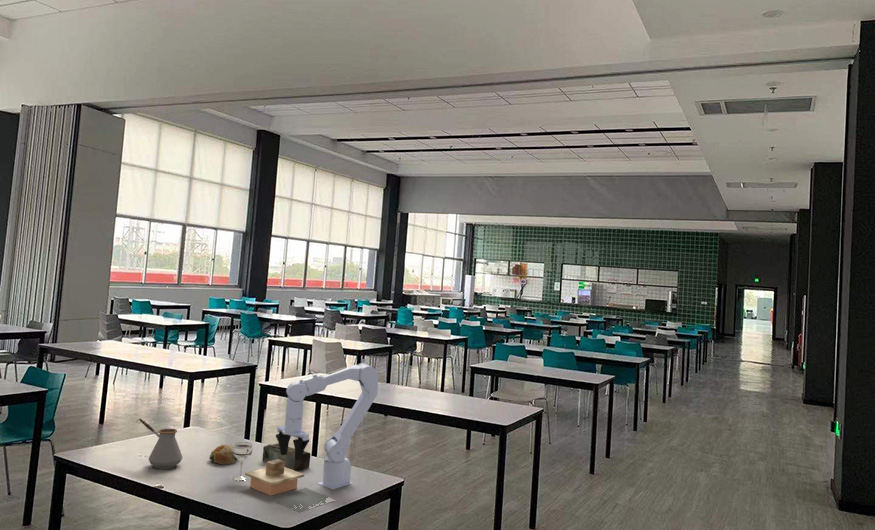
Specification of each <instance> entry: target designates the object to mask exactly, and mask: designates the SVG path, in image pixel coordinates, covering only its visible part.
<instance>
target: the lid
mask: <svg viewBox="0 0 875 530" xmlns="http://www.w3.org/2000/svg"><path fill="white" fill-rule="evenodd" d="M265 463H266V465H265V467H263V468H259V469H254V470H250V471H246V472H244V475H245V477H249V478H250V479H251V478H254V479H256V480H259V481H261V482H264V483H266V484H269V485H274V484H278V483H282V482H286V481H289V480H293V479H297V478H298V479H300V478H304V477H305V474H304V473H303V472H302V473H301V472H299V471H294V470H291V469H289V468H286V467H285V461H282V460H279V459H277V460H272V461H268V462H265Z"/></svg>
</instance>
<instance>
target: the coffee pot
mask: <svg viewBox="0 0 875 530" xmlns="http://www.w3.org/2000/svg"><path fill="white" fill-rule="evenodd" d="M138 421H139V424H142V425H144V427H145V428H147V429H148V430H149V431H151V432H152V433H153V434H155V436H157V437H158V438H157V439H158V440H157V441H156V443H155V445H154V447H153V448H152V449H153V450H152V451H151V453H150V455H149V457H148V462H149V464H150V465H152V466H153V468H155V469H161V470H163V469H164V470H165V469H172V468H175V467H176V466H177V465H178V464H180V463H181V462H182V460H183V455H182V451H181V449H180V446H179V444H178V441H177V438H176V433H177V432H178V430H177V429H176V428H163V429H159V430H158V432H157V431H156V430H155V429H154V428H153V426H152V425H150V424H149V423H147V422H146V421H145V420H143V419H142V418H139V419H138V420H137V421H136V422H138Z"/></svg>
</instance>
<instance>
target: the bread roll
mask: <svg viewBox="0 0 875 530" xmlns="http://www.w3.org/2000/svg"><path fill="white" fill-rule="evenodd" d="M233 448H234V445H233V444H232V445H231V444H222V445H219V446H217V447H216V448H214V450H212V451H211V453H210V455H209V460H210V461H211V463H213V462H214V463H213V464H216V463H218V464H217V465H230V464H231V463H232V464H236V463H237V461H239V459H237V458H236V457H235V456H234V455H233Z"/></svg>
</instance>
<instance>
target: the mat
mask: <svg viewBox="0 0 875 530" xmlns="http://www.w3.org/2000/svg"><path fill="white" fill-rule="evenodd" d="M328 497H329V496H328V495H326V494H322V493H320V492H319V491H318V492H317V491H314V490H312V489H310V488H307V487H304V488H299V489H296V490H291V491H289V492H288V491H287V492H284V493H280V494H277V495H275V496H274V495H273V496H271V497H268V498H267V500H270V501H271V502H274V503H276V504H279V505H282V506H283V507H285V508H287V509H288V508H289V509H291V510H293V511H296V512H298V513H302V512H304V511H309V510H310V509H309V508H310V507H309V506H311V507H313V506H315V505H316V504H319V503H320V502H321V501H322V502H321V503H324V504H325V503H326V502H325V500H326V498H328ZM321 503H320V504H321ZM300 504H301V505H302V506H303V507H302V506H301V505H300ZM313 504H314V505H313ZM320 504H319V505H320ZM294 505H295V506H296V507H297V508H296V507H295V506H294ZM325 505H326V504H325ZM299 506H300V507H299ZM294 507H295V508H296V509H295V508H294ZM301 507H302V508H301ZM308 507H309V508H308ZM292 508H293V509H292ZM300 508H301V509H300ZM315 508H318V507H317V506H316V507H315Z"/></svg>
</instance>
